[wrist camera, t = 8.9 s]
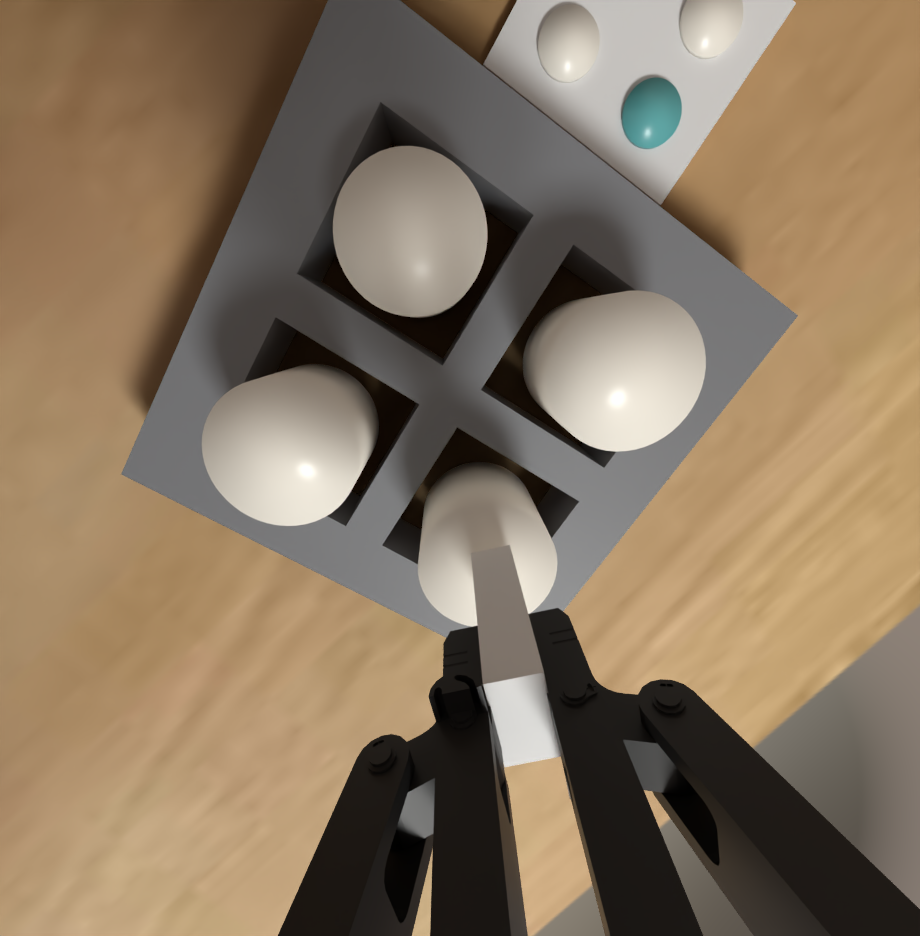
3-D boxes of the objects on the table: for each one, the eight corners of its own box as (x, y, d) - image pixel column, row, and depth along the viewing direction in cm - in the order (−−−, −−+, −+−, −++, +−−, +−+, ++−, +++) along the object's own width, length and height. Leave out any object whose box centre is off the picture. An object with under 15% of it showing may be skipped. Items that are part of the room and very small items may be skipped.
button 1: (240, 442, 22) (177, 479, 17) (292, 339, 21) (241, 345, 15) (344, 498, 23) (315, 550, 18) (400, 404, 22) (386, 431, 16)
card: (482, 70, 20) (483, 61, 19) (606, -164, 18) (613, -183, 17) (656, 207, 22) (663, 203, 21) (787, 11, 20) (800, -1, 19)
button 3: (403, 530, 24) (392, 589, 18) (461, 441, 22) (466, 477, 17) (493, 579, 25) (506, 648, 20) (553, 497, 23) (585, 547, 18)
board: (170, 450, 25) (121, 474, 21) (365, 28, 20) (346, -43, 16) (505, 626, 29) (514, 671, 25) (741, 316, 24) (798, 315, 20)
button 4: (499, 381, 22) (517, 400, 16) (569, 272, 20) (613, 255, 15) (593, 442, 23) (638, 478, 17) (666, 342, 21) (738, 349, 16)
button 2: (338, 275, 22) (305, 261, 17) (396, 162, 21) (380, 108, 15) (438, 340, 23) (436, 345, 18) (499, 236, 22) (517, 209, 16)
